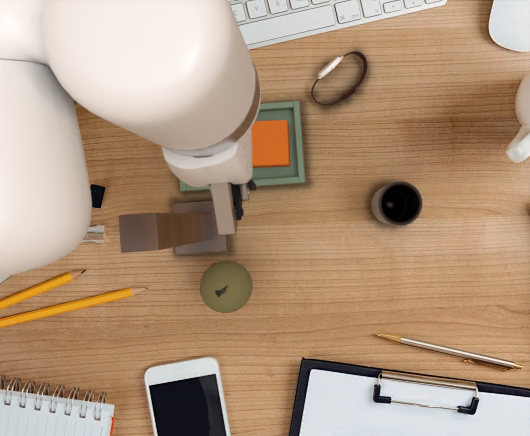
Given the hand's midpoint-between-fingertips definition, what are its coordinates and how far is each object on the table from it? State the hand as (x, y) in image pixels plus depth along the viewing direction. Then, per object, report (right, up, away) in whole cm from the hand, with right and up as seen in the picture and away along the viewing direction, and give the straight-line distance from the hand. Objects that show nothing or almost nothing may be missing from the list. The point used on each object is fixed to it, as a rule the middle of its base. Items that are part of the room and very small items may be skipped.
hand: (233, 131), depth 52 cm
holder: (-2, +1, +20) cm, 20 cm away
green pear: (-3, -15, +21) cm, 25 cm away
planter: (+15, -6, +21) cm, 26 cm away
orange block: (+1, +1, +20) cm, 20 cm away
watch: (+9, +9, +21) cm, 24 cm away
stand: (-7, -8, +20) cm, 23 cm away
